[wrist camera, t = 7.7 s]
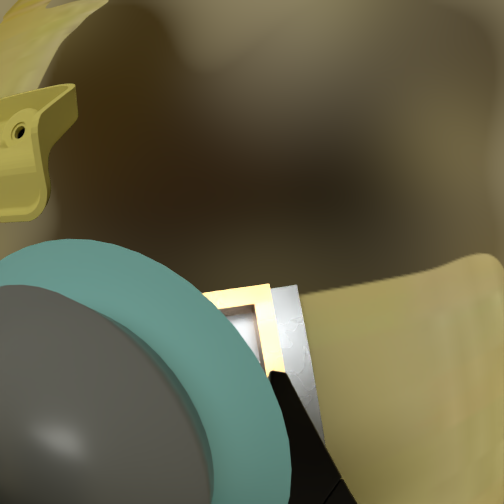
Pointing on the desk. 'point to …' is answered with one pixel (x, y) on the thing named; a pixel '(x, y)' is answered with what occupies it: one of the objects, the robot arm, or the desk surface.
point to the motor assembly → (274, 335)
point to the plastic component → (31, 147)
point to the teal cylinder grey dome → (128, 387)
